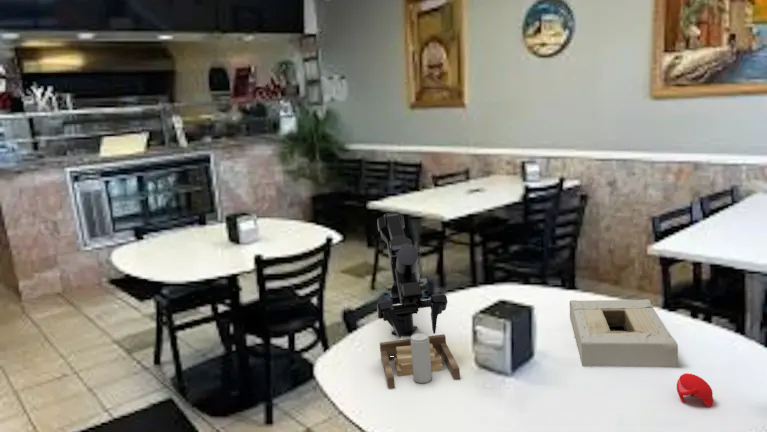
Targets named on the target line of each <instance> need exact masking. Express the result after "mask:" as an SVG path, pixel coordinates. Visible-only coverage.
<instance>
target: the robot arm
mask: <svg viewBox="0 0 767 432" xmlns="http://www.w3.org/2000/svg"><path fill="white" fill-rule="evenodd" d="M376 223H377V230H378V232H380V238H381V239H382V240H383V241H384V242H385V244H387V245H386V247H387V254H388V261H389V266H390V271H391V278H392V286H391V288H390V294H389V296H390V297H388V299H387V300H386V299H385V300H379V301H378V302H377V304H376V305H377V306H376V308H377V309H376V313H377V317H378V319H380V320H381V319H382V320H383V321H385V322H387V323H389V325H390V326H391V327H392V329H393V330H392V332H391V335H395V336H396V335H397V336H398V339H401V338H402V336H409V337H411V336H412V335H413V334H415V331H416V330H417V329H418V326H416V325H414V319H413V315H414V314H418V312H419V309H424V308H430V317H431V318H430V321H431V327H432V333H433V335H434V334H436V332H437V331H436V330H437V321H438V316H439V315H440V314H442V313H443V311H446V309H447V304H448V298H447V294H445V293H444V292H442V293H436V294H431V296H430V299H425V300H424V299H423V292H426V291H428V290H429V283H428V278H426V277H425V278H424V277H423V278H420V279H419V280H418V277H417V269H418V262H419V257H421V256H420V251H419V250H418V249H417V248H416V246H415V245H413V242H412V240H411V238H408V237H406V234H405V232H404V229H405V226H406V225H405V219H404V215H403V214H401V213H400V212H398V211H397V212H396V211H395V212H394V211H393V212H386V213H384V214H383V216H379V217H378V218H377V222H376ZM422 299H423V300H422Z"/></svg>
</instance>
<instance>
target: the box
mask: <svg viewBox="0 0 767 432" xmlns="http://www.w3.org/2000/svg"><path fill="white" fill-rule="evenodd" d="M569 319H570V323H571V328H572V331H573V332H572V333H573V335H574V338H575V342H576V346H577V351H578V355H579V359H580V363H581V366H582V367H622V368H623V367H625V368H627V367H630V368H631V367H632V368H633V367H634V368H638V367H641V368H677V366H678V356H679V354H678V353H679V350H678V349H679V346H678V345H679V344H678V343H677V341H676V339H675V338H674V337H673V336H672V335H671V333H670V332H669V331H668V329H667V327H666V326H665V324H664V322H663V321H662V320H661V318H660V316H659V314H658V313H657V311H656V310H655V309H654V306H653V305H652V303H651V300H650V299H647V298H645V299H619V300H618V299H617V300H615V299H611V300H610V299H609V300H603V299H602V300H601V299H600V300H577V299H575V300H569ZM620 326H621V327H623V329H624V330H620V329H610V328H611V327H612V328H614V327H615V328H617V327H620Z"/></svg>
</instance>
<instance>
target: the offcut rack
mask: <svg viewBox="0 0 767 432" xmlns="http://www.w3.org/2000/svg"><path fill="white" fill-rule="evenodd" d="M428 337H429V343H430V344H432V345H433V348H435V350H436V351H437V353H438V354H439V355H441V356H442V359H443V360H444V362H445V364H446V366H447V369H448V370H449V372H450V375H451V376H452V379H453V380H454V381H455V380H460V379H461V372H460V367H459V365H458V363H457V361H456V359H455V357H454V355H453V353H452V352H451V350H450V348H449V346H448V344H447V341H446V334H444V333H443V334H436V335H434V334H433V335H428ZM410 340H411V338H404V339H397V340H389V341H383V342H379V349H380V359H381V364H382V368H383V372H384V375H385V380H386V384H387V388H388V389H395V388H396V387H395V386H396V384H395V377H394V373H393V369H392V366H391V363H390V361H394V358H396V354H397V351H396V347H400V346H411V341H410ZM390 356H394V357H390Z"/></svg>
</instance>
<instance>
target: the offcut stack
mask: <svg viewBox="0 0 767 432" xmlns="http://www.w3.org/2000/svg"><path fill="white" fill-rule="evenodd" d="M396 351H397V354H396V358H394V360H393V363H394V366H395V370H396V374H397V376H398V377H403V376H408V375H413V364H412V353H411V346H400V347H396ZM430 359H431V372H438V371H443V361H442V359H443V358H442V357H441V355H440V354H438V353H437V351H436V350H435V348H433V345H432V344H430Z"/></svg>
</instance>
